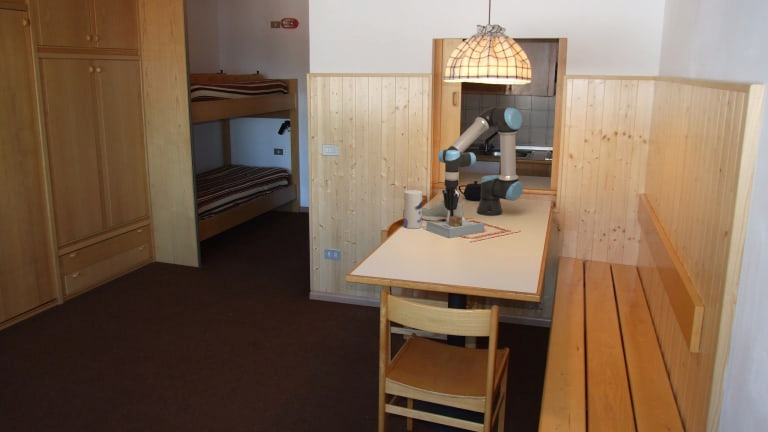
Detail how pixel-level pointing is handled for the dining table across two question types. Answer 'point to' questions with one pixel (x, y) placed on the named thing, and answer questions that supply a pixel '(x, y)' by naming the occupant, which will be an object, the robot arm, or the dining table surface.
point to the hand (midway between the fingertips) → (450, 221)
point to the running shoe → (441, 212)
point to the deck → (454, 228)
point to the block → (455, 221)
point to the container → (413, 209)
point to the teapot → (472, 191)
